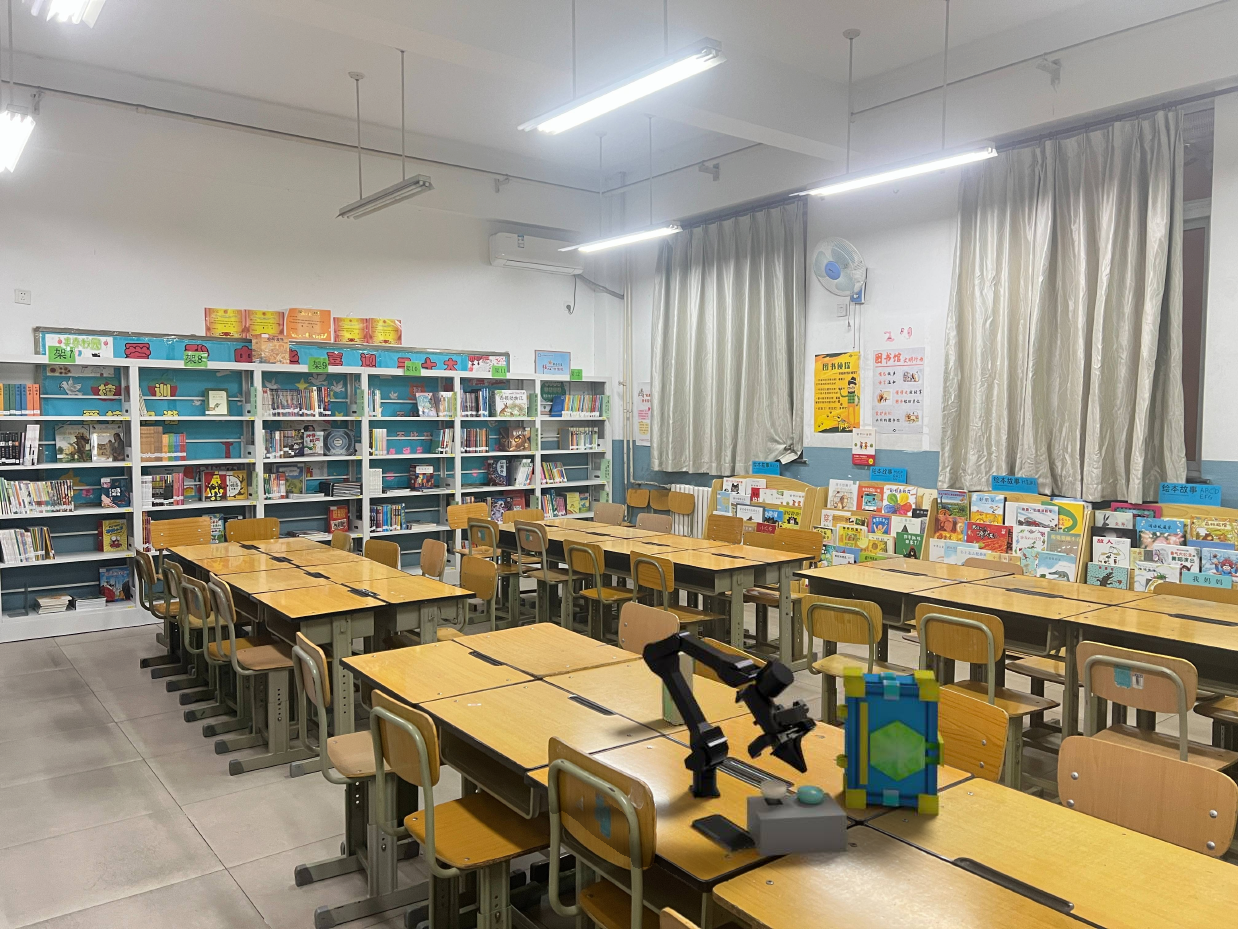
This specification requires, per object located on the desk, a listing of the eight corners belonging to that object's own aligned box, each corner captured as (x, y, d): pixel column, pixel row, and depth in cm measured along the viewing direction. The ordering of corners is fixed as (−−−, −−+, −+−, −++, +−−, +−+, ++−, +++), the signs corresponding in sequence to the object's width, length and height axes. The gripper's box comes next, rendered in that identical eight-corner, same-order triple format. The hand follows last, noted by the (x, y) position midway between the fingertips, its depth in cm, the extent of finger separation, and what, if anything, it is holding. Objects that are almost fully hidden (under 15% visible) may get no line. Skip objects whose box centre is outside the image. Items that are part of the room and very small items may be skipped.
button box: (746, 831, 186) (746, 796, 185) (827, 826, 188) (828, 792, 187) (760, 856, 175) (760, 819, 174) (846, 851, 177) (846, 815, 176)
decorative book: (945, 819, 191) (946, 685, 189) (837, 811, 195) (838, 680, 194) (934, 793, 205) (935, 668, 203) (834, 785, 209) (835, 663, 208)
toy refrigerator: (659, 718, 258) (658, 649, 258) (680, 715, 262) (680, 646, 261) (671, 726, 251) (671, 655, 250) (693, 723, 254) (693, 652, 254)
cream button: (757, 802, 185) (757, 780, 185) (782, 801, 186) (782, 779, 186) (764, 813, 180) (764, 790, 180) (789, 812, 181) (789, 789, 180)
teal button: (793, 807, 186) (793, 786, 186) (818, 806, 187) (818, 784, 187) (801, 819, 181) (801, 796, 181) (826, 817, 181) (826, 795, 181)
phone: (718, 813, 193) (762, 840, 180) (718, 818, 193) (762, 845, 180) (689, 821, 189) (732, 849, 176) (689, 826, 189) (732, 855, 176)
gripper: (758, 698, 181) (802, 765, 174) (809, 680, 194) (852, 742, 186) (729, 726, 187) (770, 791, 180) (781, 707, 200) (821, 767, 193)
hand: (805, 772), depth 184 cm, fingers closed
